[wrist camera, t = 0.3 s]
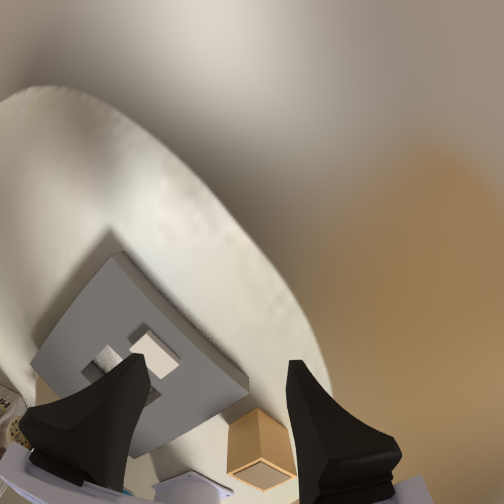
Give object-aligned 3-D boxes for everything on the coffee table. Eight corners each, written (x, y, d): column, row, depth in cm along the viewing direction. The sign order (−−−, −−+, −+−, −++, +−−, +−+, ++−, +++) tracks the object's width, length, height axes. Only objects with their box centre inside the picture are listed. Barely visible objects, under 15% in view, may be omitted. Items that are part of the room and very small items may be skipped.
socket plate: (139, 445, 26) (132, 463, 22) (41, 354, 23) (26, 367, 20) (248, 377, 24) (249, 398, 21) (123, 251, 22) (106, 258, 19)
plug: (259, 445, 26) (263, 492, 19) (228, 425, 25) (226, 475, 18) (287, 429, 26) (297, 477, 19) (257, 407, 25) (261, 458, 18)
